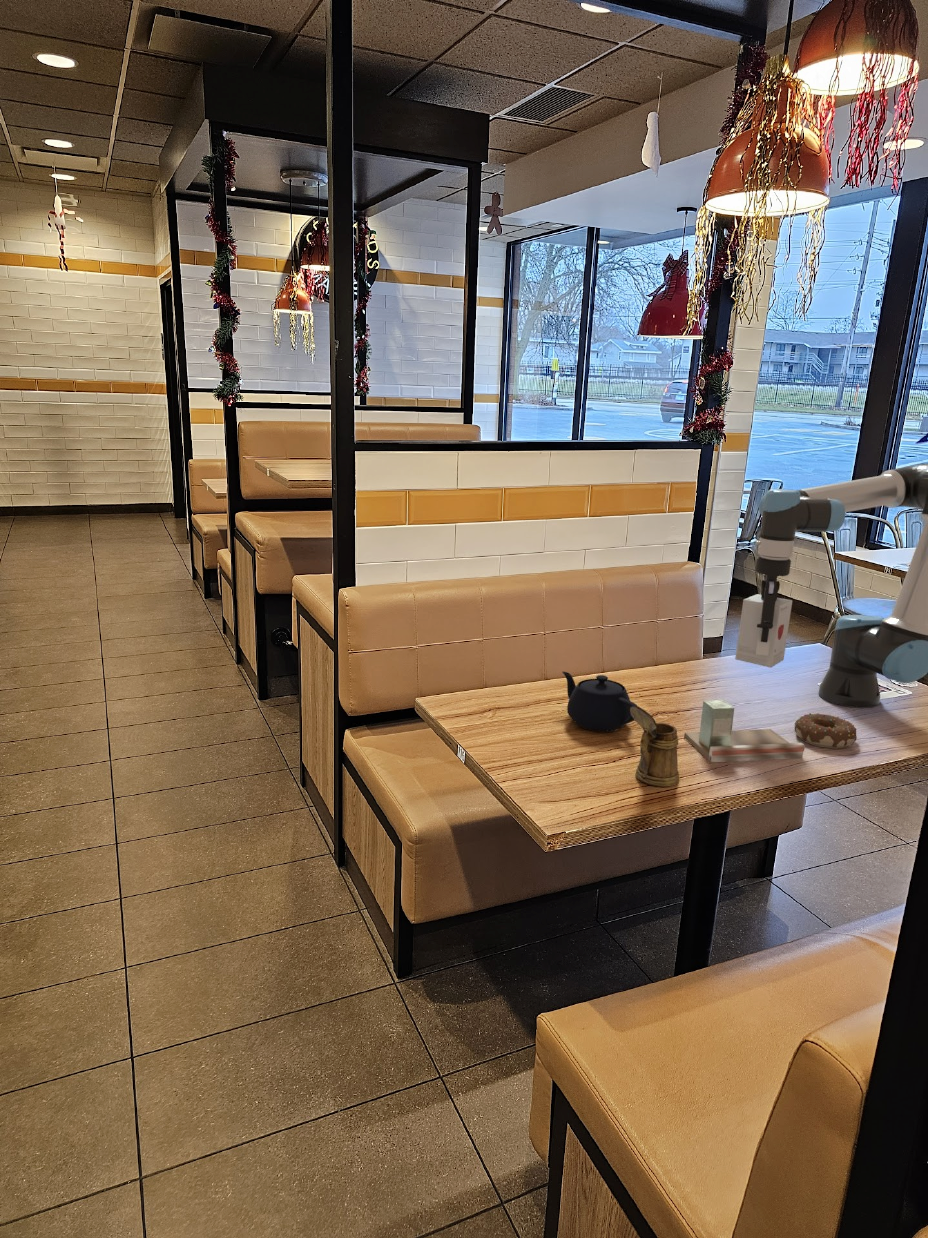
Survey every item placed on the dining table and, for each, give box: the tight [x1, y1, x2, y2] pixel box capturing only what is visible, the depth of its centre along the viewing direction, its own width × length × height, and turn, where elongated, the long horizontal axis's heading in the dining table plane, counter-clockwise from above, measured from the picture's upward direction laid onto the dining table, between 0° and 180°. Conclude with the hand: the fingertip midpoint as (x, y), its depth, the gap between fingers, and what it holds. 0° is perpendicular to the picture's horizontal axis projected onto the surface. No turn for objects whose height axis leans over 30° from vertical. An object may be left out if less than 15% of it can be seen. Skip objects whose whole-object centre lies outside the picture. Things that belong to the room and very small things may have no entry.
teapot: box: [562, 671, 638, 733], centre depth 202 cm, size 25×16×12 cm, turn 37°
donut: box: [794, 712, 858, 749], centre depth 198 cm, size 14×14×5 cm
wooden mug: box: [630, 705, 680, 788], centre depth 171 cm, size 9×14×18 cm, turn 128°
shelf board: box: [683, 728, 806, 763], centre depth 191 cm, size 22×14×3 cm, turn 100°
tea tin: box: [699, 699, 735, 751], centre depth 188 cm, size 5×5×10 cm
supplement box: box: [734, 593, 793, 668], centre depth 197 cm, size 9×9×15 cm
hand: (761, 648), depth 198 cm, fingers closed on supplement box, 11 cm apart
